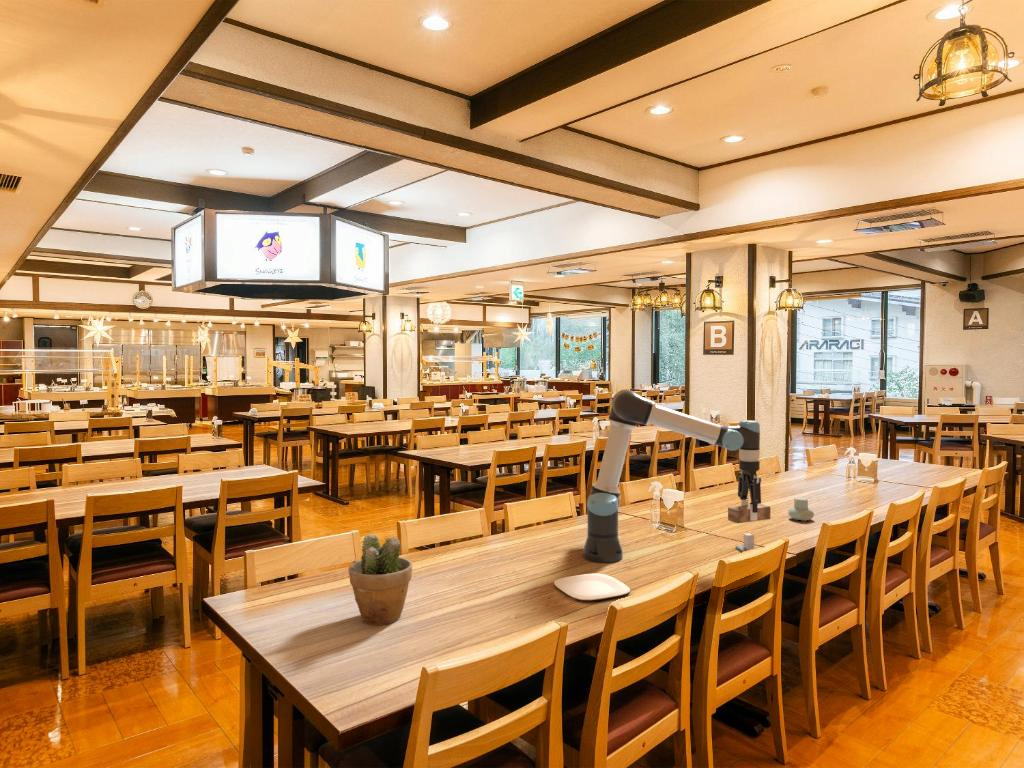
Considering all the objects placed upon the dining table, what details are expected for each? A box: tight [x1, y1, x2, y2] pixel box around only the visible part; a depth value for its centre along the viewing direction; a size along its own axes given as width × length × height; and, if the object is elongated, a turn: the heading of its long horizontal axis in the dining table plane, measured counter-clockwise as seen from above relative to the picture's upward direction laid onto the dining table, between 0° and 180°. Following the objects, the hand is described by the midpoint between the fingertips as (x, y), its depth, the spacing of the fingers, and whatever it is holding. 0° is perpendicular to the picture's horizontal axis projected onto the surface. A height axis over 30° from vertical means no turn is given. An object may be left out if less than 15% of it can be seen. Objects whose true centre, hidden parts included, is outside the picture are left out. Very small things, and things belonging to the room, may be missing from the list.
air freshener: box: [788, 497, 814, 522], centre depth 297 cm, size 11×8×10 cm
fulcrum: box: [735, 533, 757, 553], centre depth 248 cm, size 7×8×6 cm
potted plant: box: [348, 534, 413, 626], centre depth 184 cm, size 18×19×25 cm
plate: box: [554, 573, 631, 602], centre depth 207 cm, size 22×22×2 cm
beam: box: [727, 503, 771, 524], centre depth 248 cm, size 16×6×5 cm, turn 111°
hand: (749, 518), depth 248 cm, fingers closed on beam, 6 cm apart
